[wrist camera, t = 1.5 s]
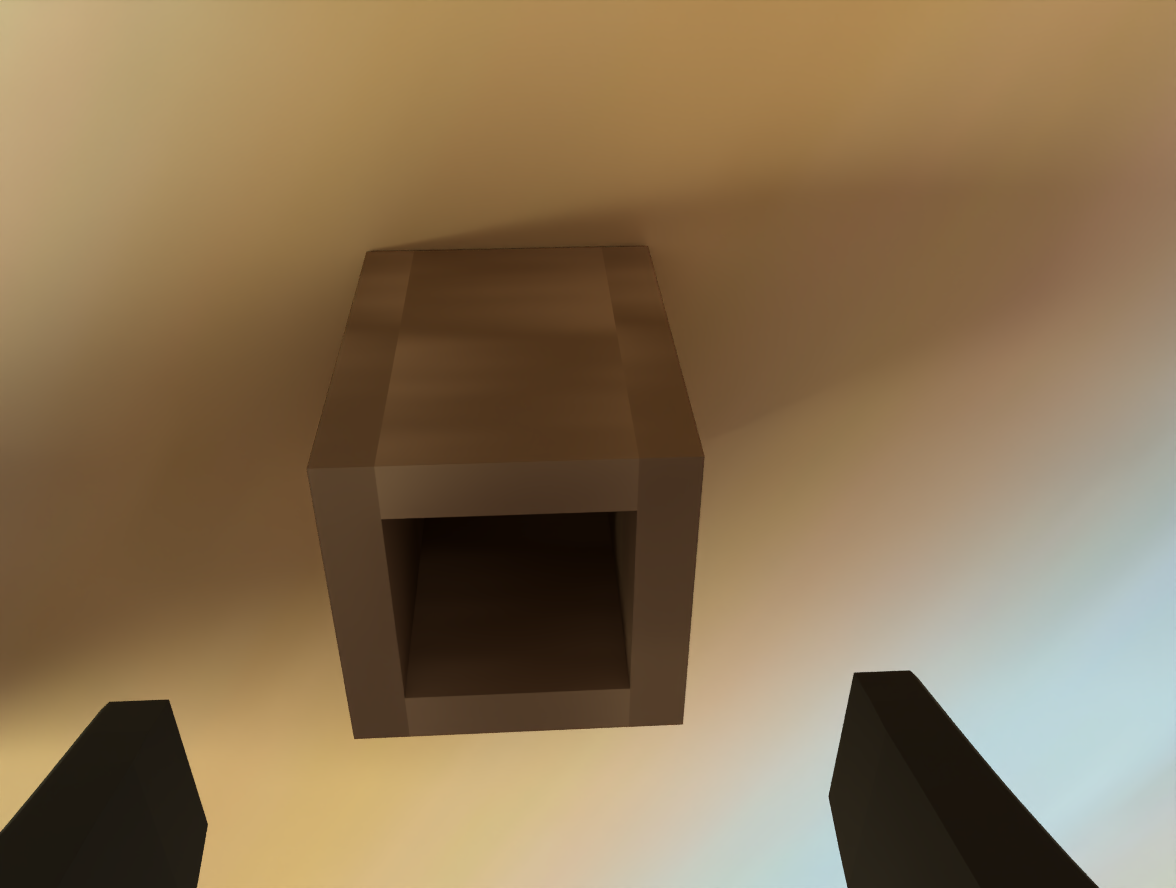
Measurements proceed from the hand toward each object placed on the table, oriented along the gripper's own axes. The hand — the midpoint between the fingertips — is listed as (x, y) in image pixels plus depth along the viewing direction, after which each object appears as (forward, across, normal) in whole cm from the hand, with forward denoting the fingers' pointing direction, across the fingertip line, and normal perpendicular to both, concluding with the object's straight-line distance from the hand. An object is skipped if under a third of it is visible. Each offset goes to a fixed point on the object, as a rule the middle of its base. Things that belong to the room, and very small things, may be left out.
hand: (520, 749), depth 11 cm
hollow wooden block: (+8, 0, 0) cm, 8 cm away
